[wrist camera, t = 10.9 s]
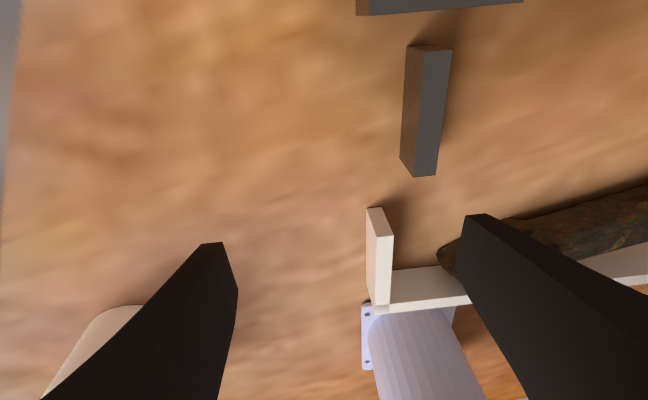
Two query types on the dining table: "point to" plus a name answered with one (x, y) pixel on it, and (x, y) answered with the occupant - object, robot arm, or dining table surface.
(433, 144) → the tool holder
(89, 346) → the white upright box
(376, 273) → the white u-shaped bracket
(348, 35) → the dining table surface
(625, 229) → the hand tool
